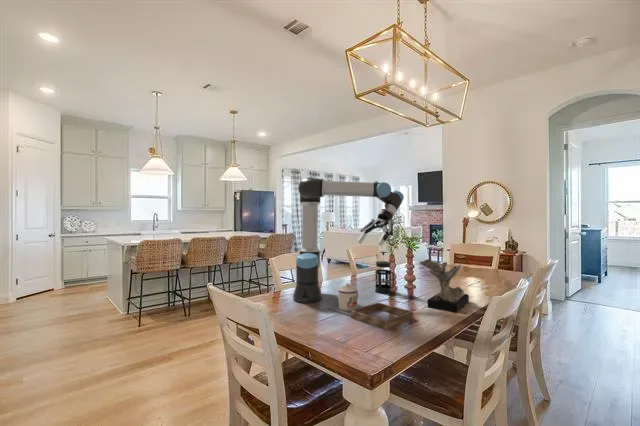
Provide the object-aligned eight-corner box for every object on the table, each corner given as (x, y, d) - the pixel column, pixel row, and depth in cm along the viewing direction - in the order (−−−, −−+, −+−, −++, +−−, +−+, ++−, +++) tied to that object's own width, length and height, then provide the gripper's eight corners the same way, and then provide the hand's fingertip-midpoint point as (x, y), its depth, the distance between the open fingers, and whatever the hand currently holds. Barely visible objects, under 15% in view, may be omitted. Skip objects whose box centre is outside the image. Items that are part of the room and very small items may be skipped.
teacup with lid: (349, 312, 146) (349, 287, 146) (334, 308, 153) (334, 283, 152) (365, 307, 155) (365, 282, 155) (350, 303, 161) (350, 279, 161)
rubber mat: (327, 308, 154) (327, 307, 154) (349, 302, 164) (349, 301, 164) (350, 316, 143) (350, 315, 143) (372, 309, 153) (372, 308, 153)
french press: (371, 291, 185) (370, 251, 185) (378, 288, 193) (378, 250, 192) (389, 295, 178) (389, 253, 178) (397, 291, 185) (397, 251, 185)
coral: (454, 314, 145) (454, 266, 145) (411, 306, 158) (411, 262, 158) (470, 302, 164) (470, 260, 164) (430, 295, 177) (430, 256, 177)
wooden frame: (350, 317, 141) (350, 310, 141) (378, 308, 154) (378, 302, 154) (386, 329, 127) (386, 321, 127) (413, 318, 140) (413, 311, 140)
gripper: (409, 219, 169) (392, 250, 160) (372, 218, 188) (354, 246, 178) (403, 209, 166) (385, 240, 156) (366, 209, 184) (348, 237, 175)
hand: (369, 243), depth 167 cm, fingers open, 13 cm apart
